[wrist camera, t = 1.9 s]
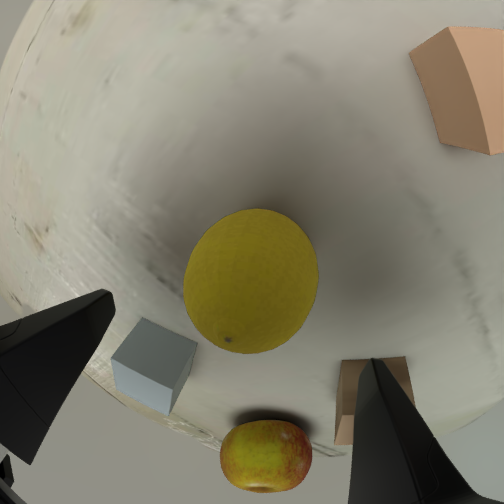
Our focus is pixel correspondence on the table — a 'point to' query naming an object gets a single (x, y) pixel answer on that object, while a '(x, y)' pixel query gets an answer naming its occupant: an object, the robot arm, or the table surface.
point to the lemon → (251, 281)
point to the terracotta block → (465, 86)
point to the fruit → (266, 456)
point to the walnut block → (349, 393)
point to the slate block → (153, 365)
